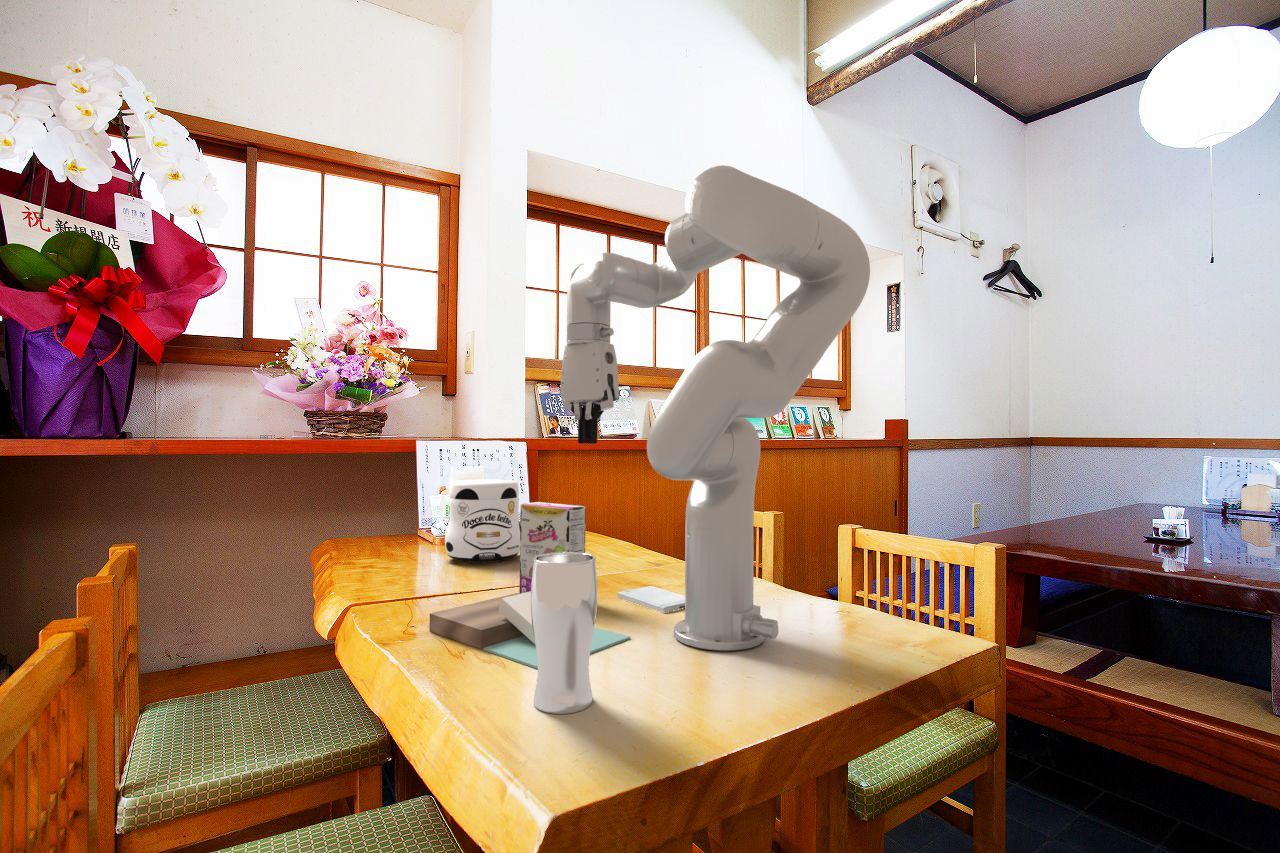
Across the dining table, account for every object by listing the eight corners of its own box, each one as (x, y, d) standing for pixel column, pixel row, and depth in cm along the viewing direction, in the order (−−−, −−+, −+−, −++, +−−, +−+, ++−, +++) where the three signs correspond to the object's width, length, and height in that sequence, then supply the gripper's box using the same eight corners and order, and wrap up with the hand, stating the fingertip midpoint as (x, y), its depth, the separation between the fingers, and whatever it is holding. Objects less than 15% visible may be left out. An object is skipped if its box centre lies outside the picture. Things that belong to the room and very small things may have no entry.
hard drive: (617, 591, 108) (663, 606, 98) (653, 585, 113) (700, 598, 103) (617, 601, 108) (663, 617, 98) (653, 594, 113) (700, 608, 103)
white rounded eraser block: (571, 636, 85) (575, 623, 85) (538, 647, 80) (542, 633, 80) (531, 602, 90) (534, 590, 90) (498, 610, 86) (501, 598, 85)
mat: (630, 638, 85) (630, 636, 85) (543, 671, 73) (543, 668, 73) (571, 622, 92) (571, 620, 92) (483, 650, 80) (483, 647, 80)
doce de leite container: (481, 570, 130) (482, 485, 131) (428, 561, 140) (429, 481, 140) (537, 558, 145) (538, 481, 145) (485, 550, 154) (486, 478, 155)
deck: (569, 622, 93) (569, 605, 93) (481, 649, 80) (481, 629, 80) (517, 608, 100) (517, 593, 100) (429, 631, 88) (429, 613, 88)
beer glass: (532, 689, 67) (534, 551, 68) (596, 687, 68) (597, 551, 68) (526, 717, 60) (528, 563, 61) (597, 715, 61) (598, 563, 61)
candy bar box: (517, 598, 107) (518, 503, 107) (536, 592, 111) (538, 501, 112) (567, 608, 101) (568, 507, 101) (586, 601, 105) (587, 505, 106)
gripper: (635, 336, 105) (635, 443, 105) (572, 344, 114) (571, 443, 114) (606, 329, 99) (606, 443, 99) (542, 339, 108) (541, 443, 108)
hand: (587, 443), depth 106 cm, fingers closed
